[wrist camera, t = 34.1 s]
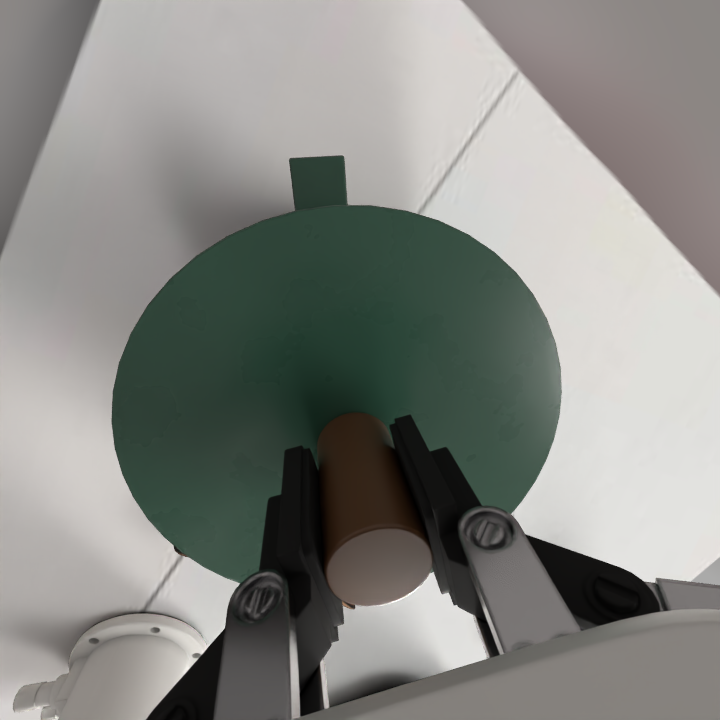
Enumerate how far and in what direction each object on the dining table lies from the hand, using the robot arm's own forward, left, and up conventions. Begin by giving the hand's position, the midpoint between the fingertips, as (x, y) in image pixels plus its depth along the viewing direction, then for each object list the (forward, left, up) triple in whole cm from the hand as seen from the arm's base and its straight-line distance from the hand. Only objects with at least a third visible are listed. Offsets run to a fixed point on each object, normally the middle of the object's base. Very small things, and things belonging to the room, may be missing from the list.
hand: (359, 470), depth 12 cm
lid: (0, 0, -2) cm, 2 cm away
